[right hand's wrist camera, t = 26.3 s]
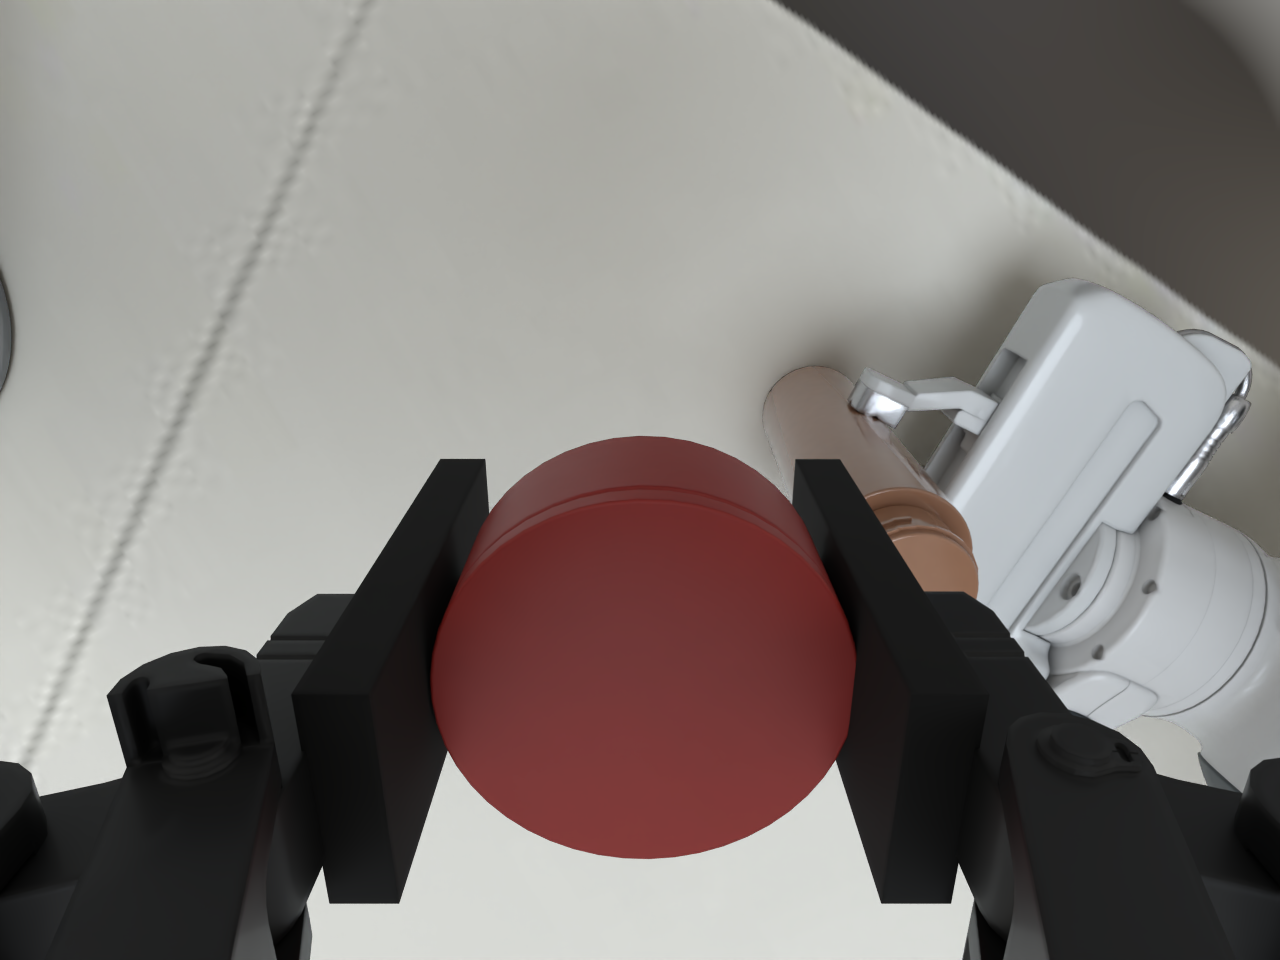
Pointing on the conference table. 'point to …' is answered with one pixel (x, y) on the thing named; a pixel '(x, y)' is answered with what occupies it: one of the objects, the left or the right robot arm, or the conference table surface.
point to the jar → (871, 474)
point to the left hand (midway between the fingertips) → (819, 454)
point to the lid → (643, 652)
